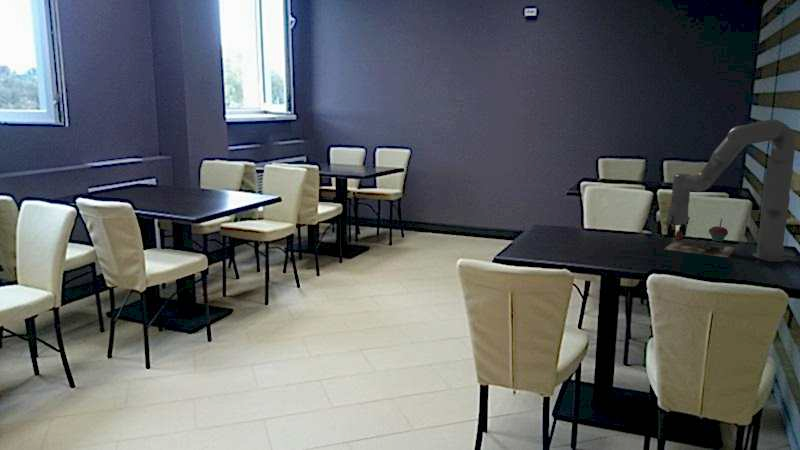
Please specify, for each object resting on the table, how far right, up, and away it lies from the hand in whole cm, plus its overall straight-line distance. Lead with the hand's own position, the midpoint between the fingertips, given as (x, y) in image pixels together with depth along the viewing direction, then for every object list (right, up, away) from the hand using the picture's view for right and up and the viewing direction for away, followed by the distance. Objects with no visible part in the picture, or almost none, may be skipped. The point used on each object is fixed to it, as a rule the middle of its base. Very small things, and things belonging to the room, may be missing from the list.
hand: (676, 236), depth 284 cm
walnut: (+6, -7, -14) cm, 17 cm away
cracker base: (+8, -6, -7) cm, 12 cm away
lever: (+8, -5, -5) cm, 10 cm away
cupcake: (+28, -3, +16) cm, 32 cm away
